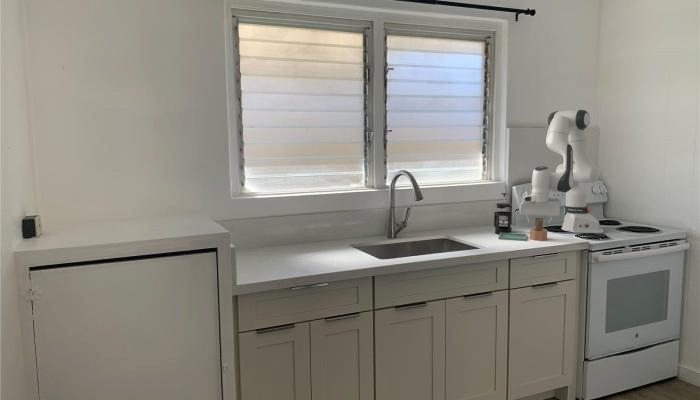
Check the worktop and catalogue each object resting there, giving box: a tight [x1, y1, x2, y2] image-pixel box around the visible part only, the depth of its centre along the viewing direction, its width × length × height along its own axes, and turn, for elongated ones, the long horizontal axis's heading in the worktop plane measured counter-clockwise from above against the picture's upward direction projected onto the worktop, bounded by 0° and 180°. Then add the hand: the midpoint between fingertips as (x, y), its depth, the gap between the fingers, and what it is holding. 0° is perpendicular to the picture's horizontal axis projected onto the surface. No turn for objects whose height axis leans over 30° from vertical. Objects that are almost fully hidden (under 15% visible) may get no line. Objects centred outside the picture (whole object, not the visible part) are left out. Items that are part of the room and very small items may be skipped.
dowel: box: [534, 217, 544, 231], centre depth 281 cm, size 4×4×11 cm
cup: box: [529, 227, 548, 242], centre depth 281 cm, size 8×8×6 cm
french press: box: [493, 192, 513, 235], centre depth 302 cm, size 12×9×23 cm
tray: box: [497, 232, 528, 242], centre depth 286 cm, size 14×14×2 cm
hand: (539, 223), depth 281 cm, fingers open, 8 cm apart
